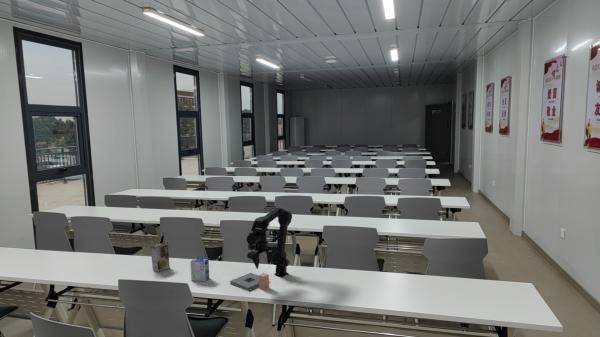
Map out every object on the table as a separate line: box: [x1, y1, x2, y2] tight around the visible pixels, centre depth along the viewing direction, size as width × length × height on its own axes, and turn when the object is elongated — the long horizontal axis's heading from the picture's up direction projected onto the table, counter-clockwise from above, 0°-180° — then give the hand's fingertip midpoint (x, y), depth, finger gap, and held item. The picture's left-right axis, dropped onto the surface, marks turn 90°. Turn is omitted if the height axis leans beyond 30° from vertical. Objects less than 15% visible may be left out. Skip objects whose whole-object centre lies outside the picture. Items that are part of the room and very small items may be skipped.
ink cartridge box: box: [189, 255, 210, 282], centre depth 238 cm, size 10×6×14 cm, turn 78°
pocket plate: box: [229, 272, 260, 292], centre depth 232 cm, size 16×16×2 cm
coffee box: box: [150, 242, 171, 273], centre depth 257 cm, size 9×6×16 cm
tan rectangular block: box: [258, 272, 270, 291], centre depth 223 cm, size 4×4×8 cm
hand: (262, 266), depth 226 cm, fingers open, 9 cm apart
